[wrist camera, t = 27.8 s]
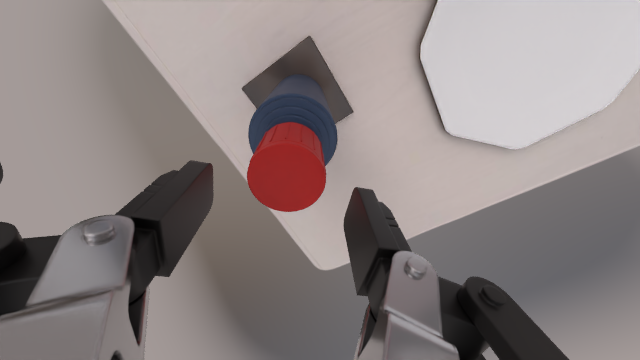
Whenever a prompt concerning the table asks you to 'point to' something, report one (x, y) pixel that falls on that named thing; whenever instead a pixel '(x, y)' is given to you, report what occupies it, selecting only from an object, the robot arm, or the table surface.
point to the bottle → (296, 112)
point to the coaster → (305, 63)
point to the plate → (527, 64)
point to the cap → (287, 168)
